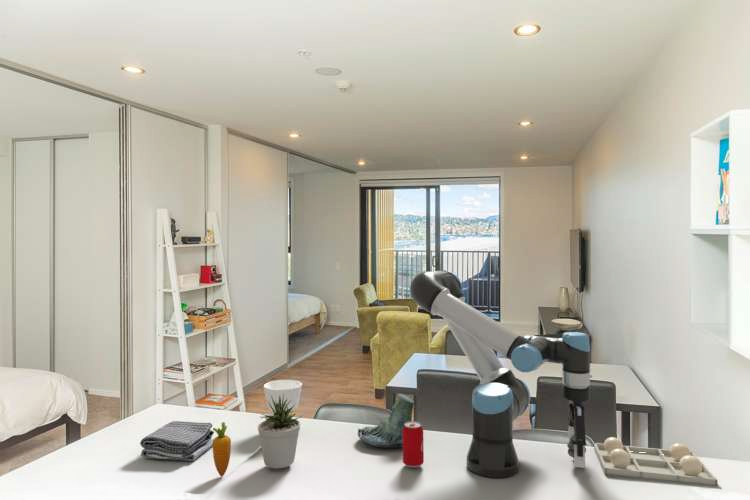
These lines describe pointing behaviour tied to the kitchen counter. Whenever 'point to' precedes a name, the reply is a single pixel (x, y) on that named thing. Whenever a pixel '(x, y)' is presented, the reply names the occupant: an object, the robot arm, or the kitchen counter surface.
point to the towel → (178, 441)
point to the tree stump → (390, 425)
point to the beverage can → (413, 444)
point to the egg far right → (678, 451)
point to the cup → (283, 386)
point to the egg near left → (619, 458)
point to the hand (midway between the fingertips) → (576, 457)
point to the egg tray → (652, 466)
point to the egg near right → (690, 465)
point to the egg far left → (612, 444)
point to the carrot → (221, 450)
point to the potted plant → (279, 436)
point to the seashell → (571, 446)
